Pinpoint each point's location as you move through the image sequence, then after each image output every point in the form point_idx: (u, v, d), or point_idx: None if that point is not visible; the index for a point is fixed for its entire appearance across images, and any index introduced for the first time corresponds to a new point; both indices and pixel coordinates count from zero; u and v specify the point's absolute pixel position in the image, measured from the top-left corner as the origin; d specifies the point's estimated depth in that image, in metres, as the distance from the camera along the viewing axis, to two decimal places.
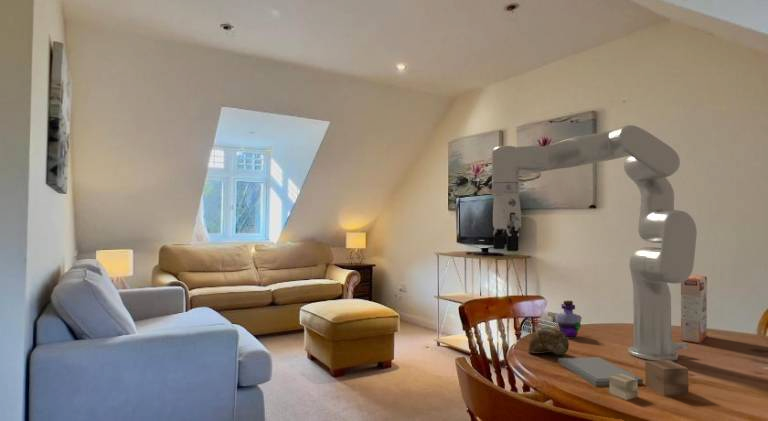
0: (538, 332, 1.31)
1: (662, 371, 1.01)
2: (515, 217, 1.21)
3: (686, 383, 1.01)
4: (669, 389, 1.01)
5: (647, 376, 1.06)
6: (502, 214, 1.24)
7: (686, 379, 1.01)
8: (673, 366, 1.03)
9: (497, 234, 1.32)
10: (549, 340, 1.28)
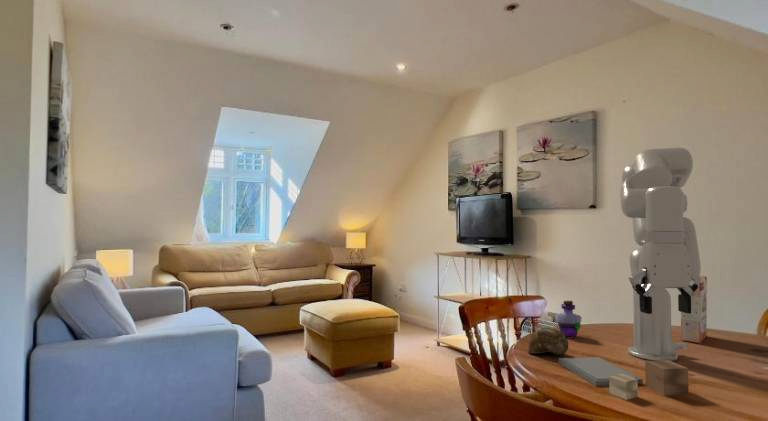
0: (538, 332, 1.31)
1: (662, 371, 1.01)
2: None
3: (686, 383, 1.01)
4: (669, 389, 1.01)
5: (647, 376, 1.06)
6: (685, 270, 1.03)
7: (686, 379, 1.01)
8: (673, 366, 1.03)
9: None
10: (549, 340, 1.28)
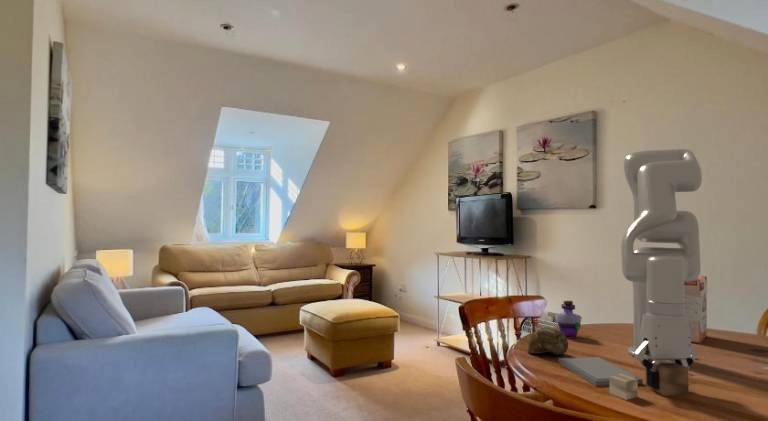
0: (537, 332, 1.31)
1: (662, 371, 1.01)
2: None
3: (686, 383, 1.01)
4: (669, 389, 1.01)
5: None
6: (686, 341, 1.02)
7: (686, 379, 1.01)
8: (673, 366, 1.02)
9: None
10: (548, 340, 1.28)
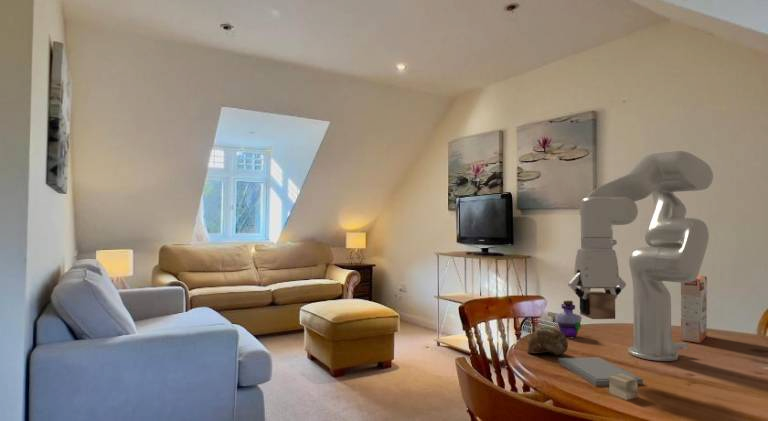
0: (537, 332, 1.32)
1: (591, 298, 1.14)
2: None
3: (613, 308, 1.14)
4: (598, 313, 1.13)
5: None
6: (614, 272, 1.15)
7: (613, 304, 1.14)
8: (602, 294, 1.15)
9: (586, 296, 1.16)
10: (548, 340, 1.28)
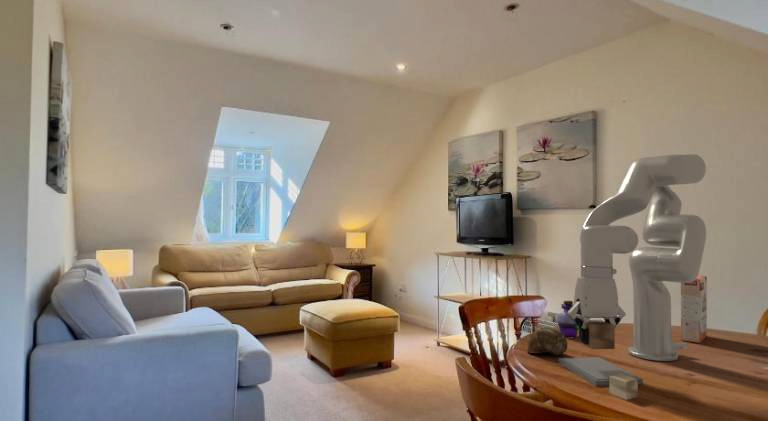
0: (537, 332, 1.32)
1: (591, 327, 1.13)
2: None
3: (612, 338, 1.13)
4: (597, 343, 1.13)
5: None
6: (614, 302, 1.15)
7: (612, 335, 1.13)
8: (601, 323, 1.15)
9: None
10: (548, 340, 1.28)
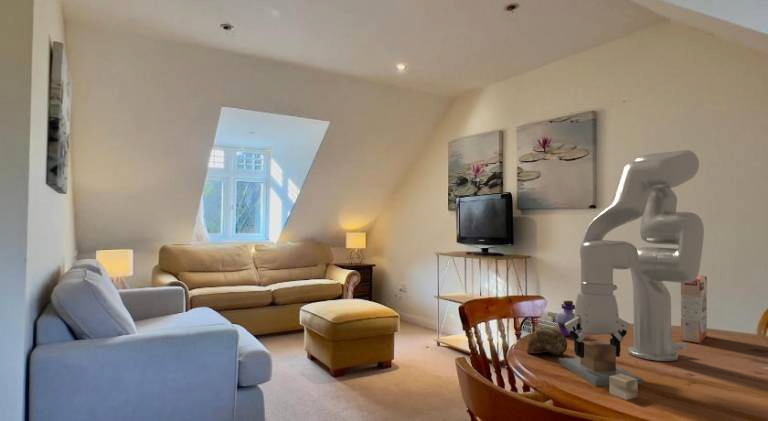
0: (537, 332, 1.32)
1: (592, 350, 1.13)
2: None
3: (614, 360, 1.13)
4: (599, 365, 1.13)
5: None
6: (614, 318, 1.15)
7: (614, 356, 1.13)
8: (602, 345, 1.15)
9: None
10: (547, 340, 1.28)
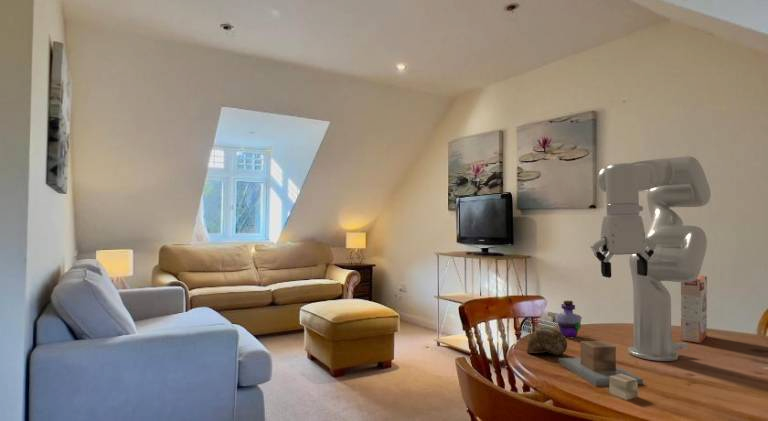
0: (536, 332, 1.32)
1: (592, 350, 1.13)
2: None
3: (614, 360, 1.13)
4: (599, 365, 1.13)
5: (582, 354, 1.18)
6: (641, 238, 1.15)
7: (614, 356, 1.13)
8: (602, 345, 1.15)
9: None
10: (547, 340, 1.28)
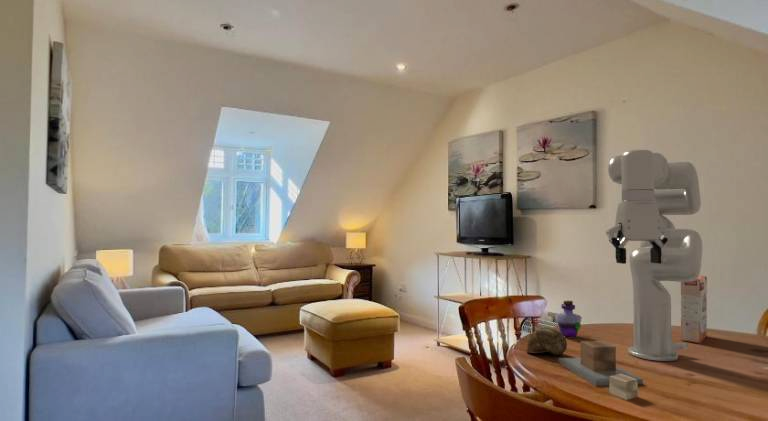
0: (536, 332, 1.32)
1: (592, 350, 1.13)
2: None
3: (614, 360, 1.13)
4: (599, 365, 1.13)
5: (582, 354, 1.18)
6: (656, 224, 1.15)
7: (614, 356, 1.13)
8: (602, 345, 1.15)
9: None
10: (547, 340, 1.28)
